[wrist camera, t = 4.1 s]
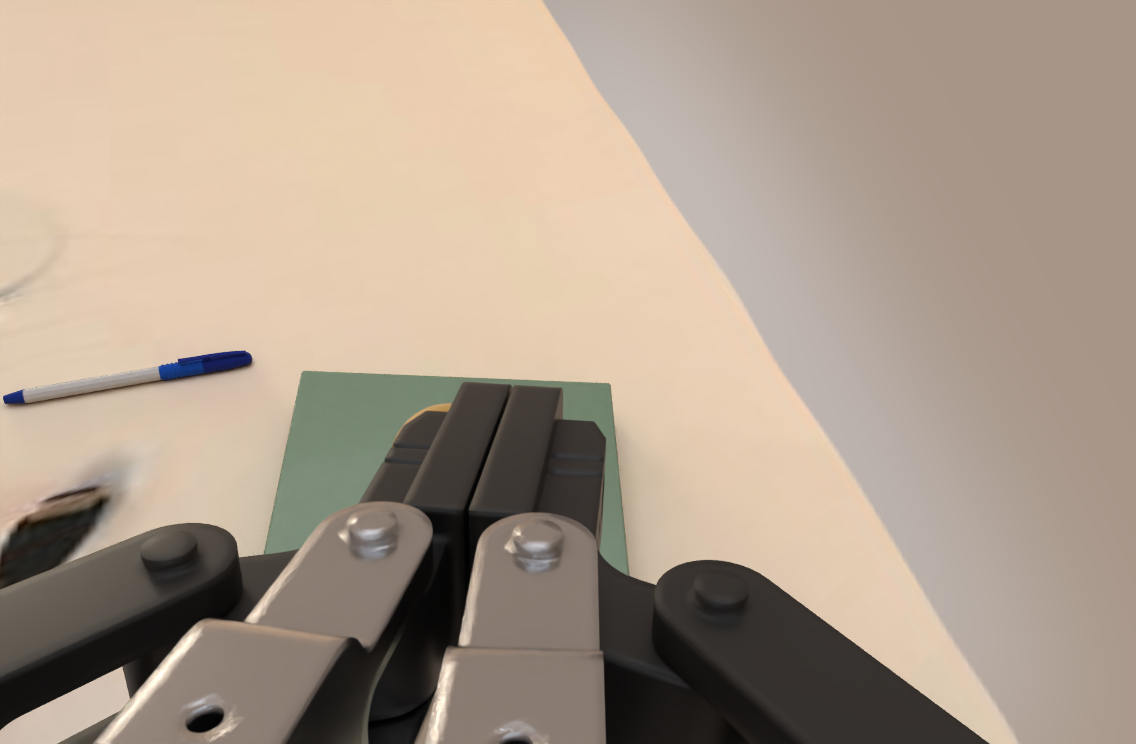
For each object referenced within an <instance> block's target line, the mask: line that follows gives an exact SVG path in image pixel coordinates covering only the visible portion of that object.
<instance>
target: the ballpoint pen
mask: <svg viewBox="0 0 1136 744" xmlns="http://www.w3.org/2000/svg"><path fill="white" fill-rule="evenodd" d="M251 361H252V357H251V355H250V353H248V352H246V351H231V352H222V353H214V354H208V355H202V356H196V357H189V358H182V359H178V363H177V362H175V364H173V363H170V364H166V365H161V366H159V367H153V368H147V369H141V370H135V371H130V372H124V373H118V374H112V375H106V376H100V377H94V378H88V379H82V380H76V381H70V382H65V383H59V384H53V385H47V386H41V387H35V388H29V389H23V390H20V391H17V392H14V393H11V394H8V395H5V396H3V400H4V403H5V404H13V403H30V402H36V401H42V400H48V399H53V398H59V397H65V396H71V395H76V394H82V393H88V392H94V391H99V390H105V389H111V388H117V387H122V386H128V385H134V384H140V383H145V382H151V381H157V380H167V379H169V380H170V379H172V378H173V379H176V377H178V378H180V377H185V376H190V375H192V376H193V375H194V374H196V375H198V374H199V373H200V374H203V373H210V372H216V371H222V370H227V369H233V368H236V367H240V366H244V365H248V364H250V363H251Z"/></svg>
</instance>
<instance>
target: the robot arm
mask: <svg viewBox="0 0 1136 744" xmlns="http://www.w3.org/2000/svg"><path fill="white" fill-rule="evenodd" d="M605 459H606V437H605V436H604V435H603V433H602V432H601V430H600V429H599V427H598V426H597V425H596V423H595V422H594V421H581V420H565V419H563V389H562V388H559V387H543V386H526V385H514V387H512V385H511V384H495V383H479V382H463V383H462V384H461V386H460V388H459V390H458V392H457V394H456V397H455V399H454V401H453V403H452V405H451V407H450V409H449V411H448V412H441V411H425V412H424V413H422V414H420V415H419V416H417V417H416V418H414V419H413V420H411V421H410V422H408V423H407V424H405V425H404V426H403V428H402V429H401V431H400V433H399V434H398V436H397V438H396V440H395V441H394V443H393V447H391V448H390V450H389V452H388V453H387V455H386V457H385V458H384V462H382V464H381V465H380V467H379V469H378V470H377V472H376V474H375V476H374V477H373V479H372V481H371V482H370V484H369V486H368V488H367V489H366V491H365V493H364V494H363V496H362V498H361V500H360V501H359V503H358V504H356V505H353V506H349V507H346V508H344V509H341V510H339V511H337V512H335V513H333V514H331V515H330V516H328V517H327V518H326V519H324V520H323V521H322V522H321V523H320V524H319V525H318V526H317V527H316V529H315V530H314V531H313V532H312V534H311V535H310V536H309V538H308V539H307V540H306V542H305V543H304V544H303V545H302V547H301V548H300V549H296V550H292V551H286V552H280V553H272V554H264V555H256V556H248V557H240V558H239V556H238V549H237V543H236V541H235V538H234V537H233V536H232V535H231V534H230V533H229V532H228V531H226V530H225V529H222V528H220V527H218V526H214V525H210V524H202V523H184V524H175V525H169V526H165V527H161V528H157V529H154V530H151V531H148V532H145V533H142V534H140V535H137V536H135V537H132V538H130V539H127V540H125V541H122V542H120V543H117V544H115V545H112V546H110V547H107V548H105V549H102V550H100V551H97V552H94V553H92V554H89V555H87V556H84V557H82V558H79V559H77V560H74V561H72V562H69V563H67V564H64V565H62V566H59V567H57V568H54V569H52V570H49V571H47V572H44V573H41V574H39V575H36V576H34V577H31V578H29V579H26V580H24V581H21V582H19V583H16V584H14V585H11V586H9V587H6V588H4V589H1V590H0V730H1V729H2V728H3V727H4V726H6V725H7V724H8V723H10V722H11V721H13V720H14V719H16V718H18V717H20V716H22V715H24V714H26V713H28V712H30V711H32V710H34V709H36V708H38V707H40V706H42V705H44V704H46V703H48V702H50V701H52V700H54V699H56V698H58V697H60V696H63V695H65V694H67V693H69V692H71V691H73V690H75V689H77V688H79V687H81V686H83V685H85V684H87V683H89V682H91V681H93V680H95V679H97V678H99V677H101V676H103V675H105V674H107V673H109V672H111V671H114V670H116V669H118V668H120V667H122V666H123V671H124V675H125V679H126V684H127V688H128V692H129V696H130V700H129V701H128V703H127V704H126V705H125V706H124V707H123V708H122V710H121V711H119V712H117V713H115V714H113V715H111V716H110V717H108V718H106V719H104V720H102V721H100V722H98V723H96V724H94V725H92V726H90V727H89V728H87V729H85V730H83V731H81V732H79V733H77V734H75V735H73V736H71V737H69V738H67V739H66V740H64V741H62V742H60V743H58V744H989V743H988V742H986V741H985V740H984V739H982V738H981V737H980V736H978V735H977V734H976V733H974V732H973V731H972V730H970V729H969V728H968V727H966V726H965V725H964V724H962V723H961V722H960V721H958V720H957V719H956V718H954V717H953V716H952V715H950V714H949V713H947V712H946V711H945V710H943V709H942V708H941V707H939V706H938V705H937V704H935V703H934V702H933V701H931V700H930V699H929V698H927V697H926V696H925V695H923V694H922V693H921V692H919V691H918V690H917V689H915V688H914V687H913V686H911V685H910V684H908V683H907V682H906V681H904V680H903V679H902V678H900V677H899V676H898V675H896V674H895V673H894V672H892V671H891V670H890V669H888V668H887V667H886V666H884V665H883V664H882V663H880V662H879V661H878V660H876V659H875V658H874V657H872V656H871V655H869V654H868V653H867V652H865V651H864V650H863V649H861V648H860V647H859V646H857V645H856V644H855V643H853V642H852V641H851V640H849V639H848V638H847V637H845V636H844V635H843V634H841V633H840V632H839V631H837V630H836V629H835V628H833V627H832V626H830V625H829V624H828V623H826V622H825V621H824V620H822V619H821V618H820V617H818V616H817V615H816V614H814V613H813V612H812V611H810V610H809V609H808V608H806V607H805V606H804V605H802V604H801V603H800V602H798V601H797V600H796V599H794V598H793V597H791V596H790V595H789V594H787V593H786V592H785V591H783V590H782V589H781V588H779V587H778V586H777V585H775V584H774V583H773V582H771V581H770V580H769V579H767V578H766V577H764V576H763V575H761V574H760V573H758V572H756V571H754V570H752V569H750V568H747V567H744V566H741V565H738V564H734V563H730V562H725V561H718V560H699V561H692V562H687V563H684V564H681V565H678V566H676V567H674V568H672V569H670V570H669V571H667V572H666V573H665V574H663V576H662V577H661V578H660V579H659V581H658V583H657V585H654V584H651V583H647V582H644V581H641V580H638V579H635V578H633V577H630V576H628V575H626V574H624V573H622V572H620V571H619V570H617V569H616V568H614V567H613V566H611V565H610V564H609V563H608V562H607V561H606V560H605V559H604V558H603V557H602V555H601V554H600V544H601V534H602V523H603V502H604V480H605Z"/></svg>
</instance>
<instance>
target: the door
mask: <svg viewBox="0 0 1136 744" xmlns="http://www.w3.org/2000/svg"><path fill="white" fill-rule="evenodd" d="M463 382H479V383H495V384H511V385H512V387H514V385H526V386H543V387H559V388H562V389H563V419H565V420H581V421H594V422H595V423H596V425H597V426H598V427H599V429H600V430H601V432H602V433H603V435H604V436H605V437H606V459H605V480H604V502H603V523H602V534H601V544H600V554H601V555H602V557H603V558H604V559H605V560H606V561H607V562H608V563H609V564H610V565H611V566H613V567H614V568H616V569H617V570H619V571H620V572H622V573H624V574H626V575H628V576H629V568H628V558H627V548H626V538H625V528H624V517H623V507H622V497H621V487H620V477H619V466H618V456H617V446H616V436H615V426H614V416H613V405H612V395H611V385H610V384H609V383H586V382H561V381H537V380H512V379H488V378H464V377H439V376H415V375H390V374H366V373H342V372H317V371H302V373H301V378H300V383H299V387H298V392H297V397H296V402H295V407H294V411H293V416H292V421H291V426H290V431H289V435H288V440H287V445H286V450H285V455H284V459H283V464H282V469H281V474H280V479H279V483H278V488H277V493H276V498H275V503H274V507H273V512H272V517H271V522H270V527H269V532H268V536H267V541H266V546H265V551H264V554H272V553H280V552H286V551H292V550H296V549H300V548H301V547H302V545H303V544H304V543H305V542H306V540H307V539H308V538H309V536H310V535H311V534H312V532H313V531H314V530H315V529H316V527H317V526H318V525H319V524H320V523H321V522H322V521H323V520H324V519H326V518H327V517H328V516H330V515H331V514H333V513H335V512H337V511H339V510H341V509H344V508H346V507H349V506H353V505H356V504H358V503H359V501H360V500H361V498H362V496H363V494H364V493H365V491H366V489H367V488H368V486H369V484H370V482H371V481H372V479H373V477H374V476H375V474H376V472H377V470H378V469H379V467H380V465H381V464H382V462H384V458H385V457H386V455H387V453H388V452H389V450H390V448H391V447H392V444H393V441H394V439H395V437H396V435H397V433H398V431H399V430H400V428H401V427H402V426H403V424H404V423H405V422H406V421H407V420H408V419H409V418H410V417H412V416H413V415H414V414H416V413H417V412H419V411H421V410H423V409H425V408H427V407H430V406H433V405H437V404H444V403H453V401H454V399H455V397H456V394H457V392H458V390H459V388H460V386H461V384H462V383H463Z"/></svg>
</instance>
